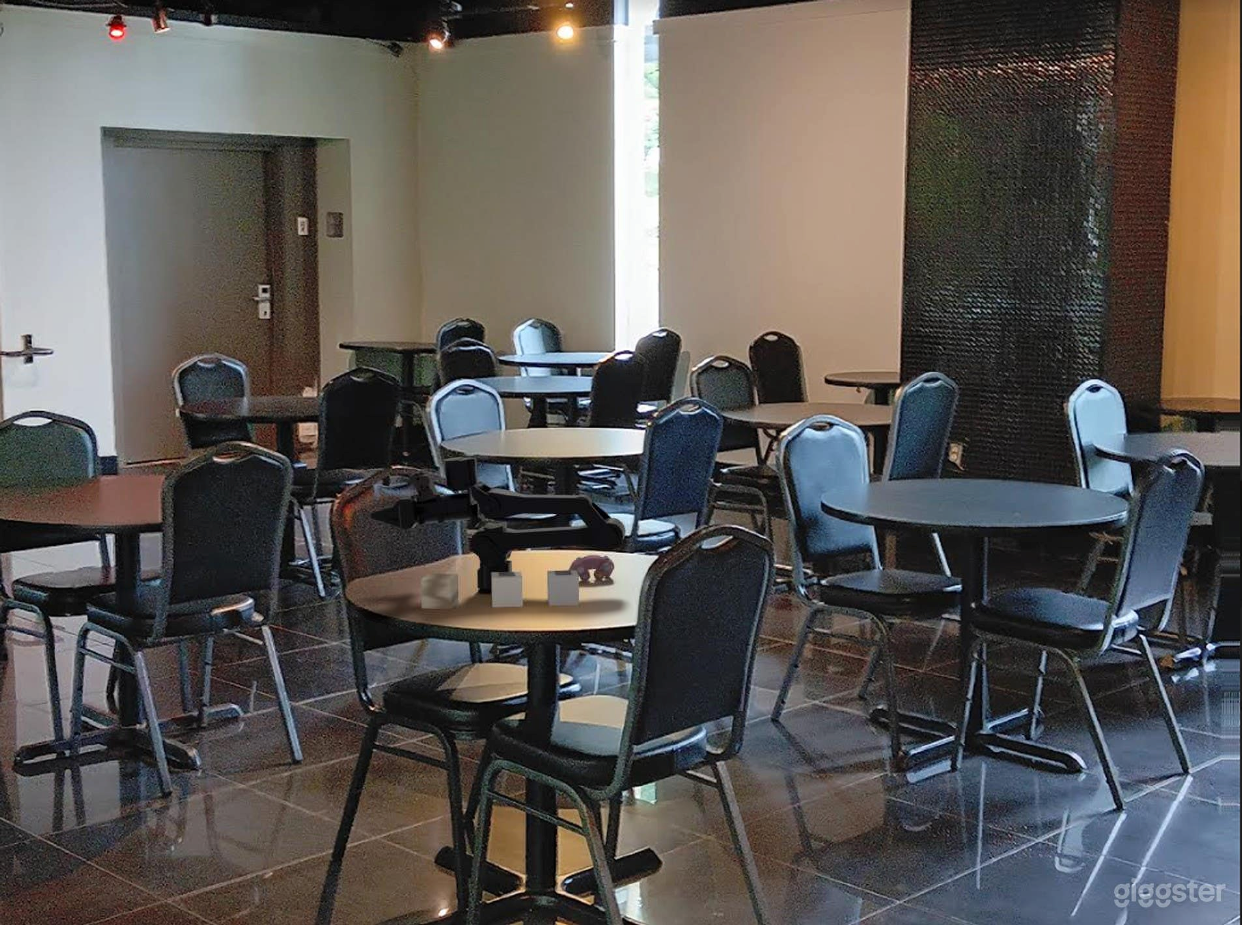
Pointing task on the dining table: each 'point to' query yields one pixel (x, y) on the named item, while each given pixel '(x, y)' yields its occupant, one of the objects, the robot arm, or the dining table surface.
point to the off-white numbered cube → (507, 589)
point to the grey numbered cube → (563, 587)
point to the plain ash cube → (439, 591)
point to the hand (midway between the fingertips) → (376, 513)
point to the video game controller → (593, 567)
